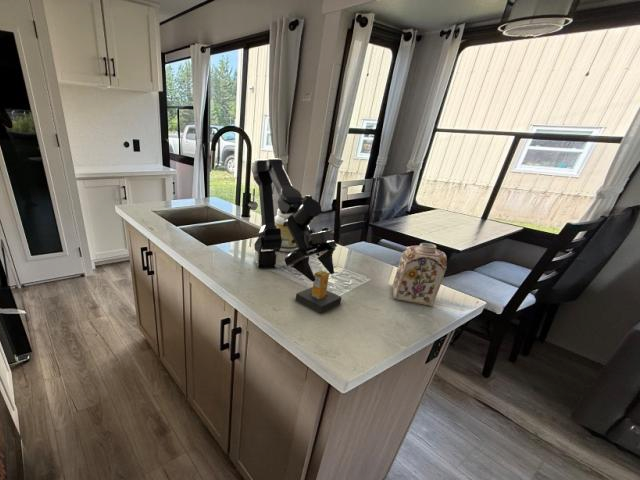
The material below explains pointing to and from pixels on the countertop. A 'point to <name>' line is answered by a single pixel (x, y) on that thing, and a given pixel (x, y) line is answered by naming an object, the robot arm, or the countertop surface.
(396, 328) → the countertop surface
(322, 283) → the supplement box
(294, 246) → the supplement tub
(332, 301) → the socket pad
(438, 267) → the decorative jar
